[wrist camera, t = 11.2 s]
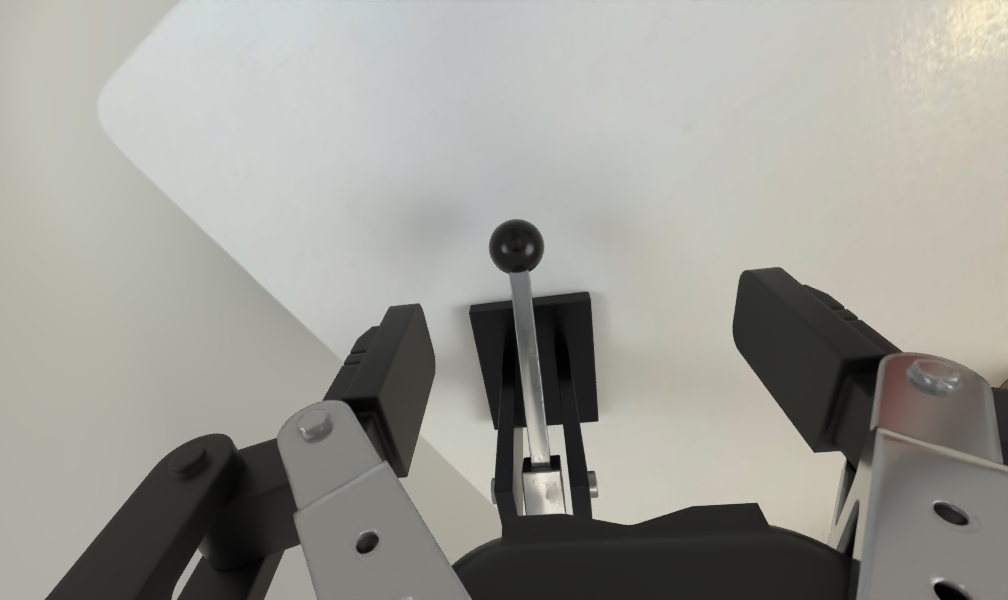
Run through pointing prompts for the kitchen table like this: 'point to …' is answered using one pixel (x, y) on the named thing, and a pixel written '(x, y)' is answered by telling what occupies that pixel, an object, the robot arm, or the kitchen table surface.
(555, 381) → the bracket
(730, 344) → the kitchen table surface
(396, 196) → the kitchen table surface
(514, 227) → the lever
